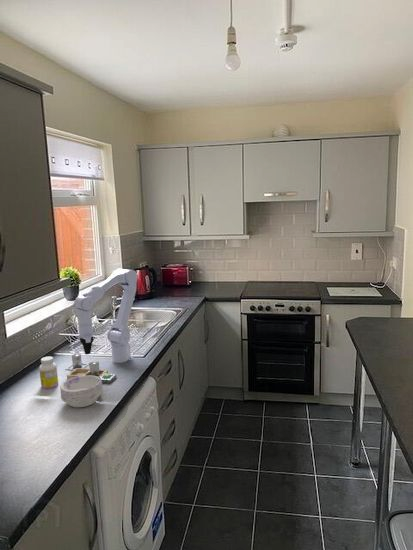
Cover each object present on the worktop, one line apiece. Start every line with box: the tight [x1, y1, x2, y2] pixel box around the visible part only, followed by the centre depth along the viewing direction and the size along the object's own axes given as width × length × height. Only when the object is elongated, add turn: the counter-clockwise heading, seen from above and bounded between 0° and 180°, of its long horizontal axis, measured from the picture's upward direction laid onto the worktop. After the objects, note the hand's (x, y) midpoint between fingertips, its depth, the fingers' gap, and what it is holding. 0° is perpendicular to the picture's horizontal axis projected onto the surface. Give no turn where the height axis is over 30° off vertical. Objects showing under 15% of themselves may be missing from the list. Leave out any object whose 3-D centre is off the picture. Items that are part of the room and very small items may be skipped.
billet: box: [71, 353, 83, 369], centre depth 195 cm, size 4×4×6 cm
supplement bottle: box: [39, 356, 59, 390], centre depth 176 cm, size 7×7×13 cm
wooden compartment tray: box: [66, 367, 109, 380], centre depth 185 cm, size 8×15×2 cm, turn 76°
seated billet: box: [88, 361, 101, 377], centre depth 184 cm, size 4×4×6 cm
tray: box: [65, 362, 90, 371], centre depth 196 cm, size 8×8×1 cm
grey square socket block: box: [100, 373, 117, 384], centre depth 180 cm, size 6×6×2 cm
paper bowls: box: [59, 375, 103, 408], centre depth 163 cm, size 15×15×8 cm
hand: (87, 353), depth 188 cm, fingers closed
